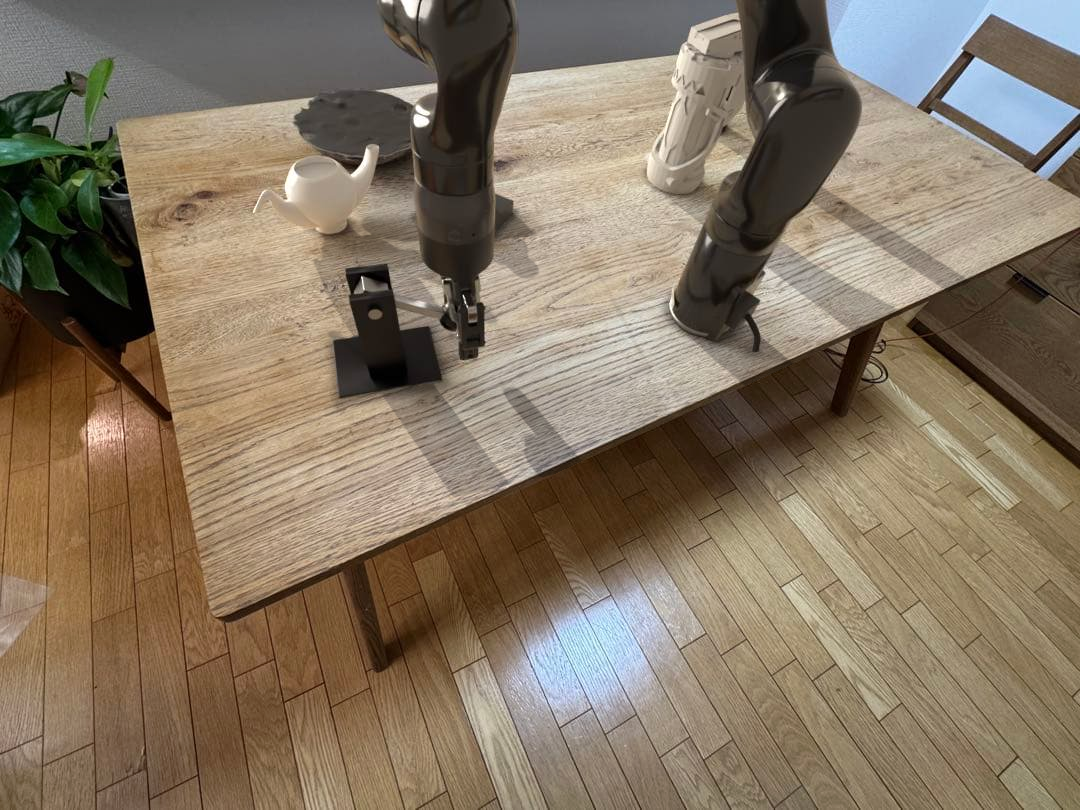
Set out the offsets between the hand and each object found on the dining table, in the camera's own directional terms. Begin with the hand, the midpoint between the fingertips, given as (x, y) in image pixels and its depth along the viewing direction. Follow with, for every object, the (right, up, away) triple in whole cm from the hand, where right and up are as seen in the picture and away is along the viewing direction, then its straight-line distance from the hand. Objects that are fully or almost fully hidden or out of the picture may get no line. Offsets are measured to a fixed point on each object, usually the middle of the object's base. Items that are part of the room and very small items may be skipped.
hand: (460, 331), depth 63 cm
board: (-21, +36, +28) cm, 50 cm away
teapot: (-22, +18, +15) cm, 33 cm away
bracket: (-9, -4, +1) cm, 10 cm away
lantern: (+35, +33, +33) cm, 58 cm away
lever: (-5, +1, -4) cm, 7 cm away
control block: (-2, +22, +20) cm, 29 cm away
